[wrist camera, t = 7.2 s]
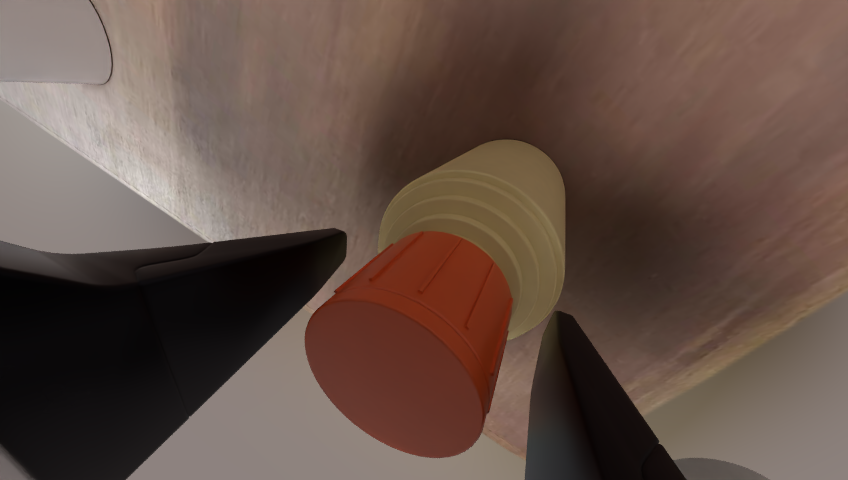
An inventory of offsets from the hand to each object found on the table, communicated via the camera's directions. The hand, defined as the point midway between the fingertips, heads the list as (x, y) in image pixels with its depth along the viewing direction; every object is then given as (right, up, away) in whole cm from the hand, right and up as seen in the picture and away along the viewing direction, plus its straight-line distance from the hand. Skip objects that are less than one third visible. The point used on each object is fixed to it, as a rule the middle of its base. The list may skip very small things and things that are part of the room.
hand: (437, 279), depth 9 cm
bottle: (+4, +3, +8) cm, 10 cm away
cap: (0, 0, 0) cm, 0 cm away
